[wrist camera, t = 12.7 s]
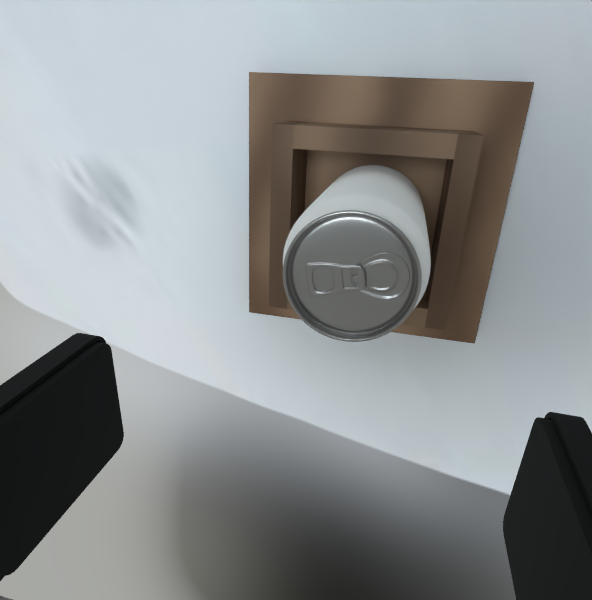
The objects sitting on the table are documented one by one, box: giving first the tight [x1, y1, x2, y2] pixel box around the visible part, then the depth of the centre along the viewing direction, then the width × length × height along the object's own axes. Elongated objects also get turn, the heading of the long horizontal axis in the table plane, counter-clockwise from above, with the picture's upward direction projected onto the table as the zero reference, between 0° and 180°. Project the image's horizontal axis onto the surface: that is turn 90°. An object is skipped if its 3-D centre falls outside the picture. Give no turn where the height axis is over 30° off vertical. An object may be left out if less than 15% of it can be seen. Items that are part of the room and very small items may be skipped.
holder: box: [249, 72, 534, 343], centre depth 28 cm, size 16×16×5 cm
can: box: [283, 165, 431, 342], centre depth 24 cm, size 6×6×12 cm
